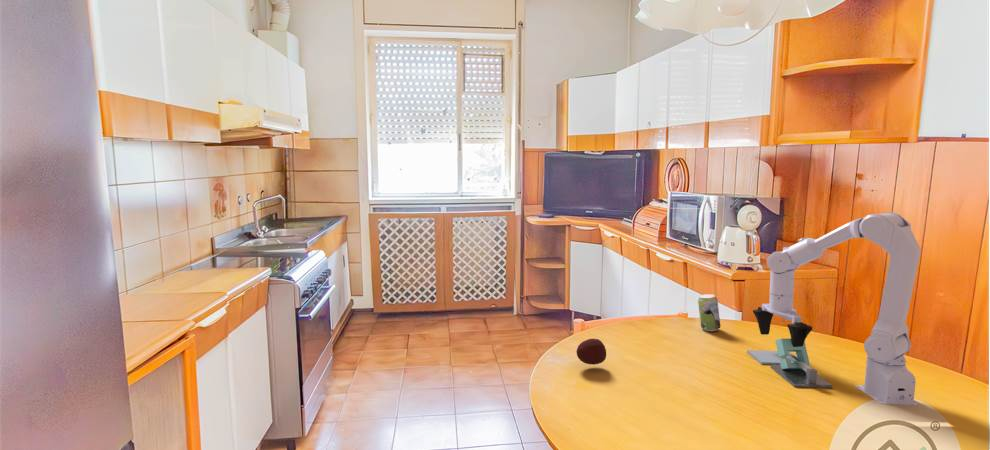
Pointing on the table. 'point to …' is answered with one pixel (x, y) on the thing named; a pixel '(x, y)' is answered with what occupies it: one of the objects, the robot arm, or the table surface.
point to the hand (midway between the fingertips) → (779, 341)
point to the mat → (767, 357)
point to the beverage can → (709, 312)
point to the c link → (786, 346)
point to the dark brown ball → (591, 351)
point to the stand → (801, 375)
